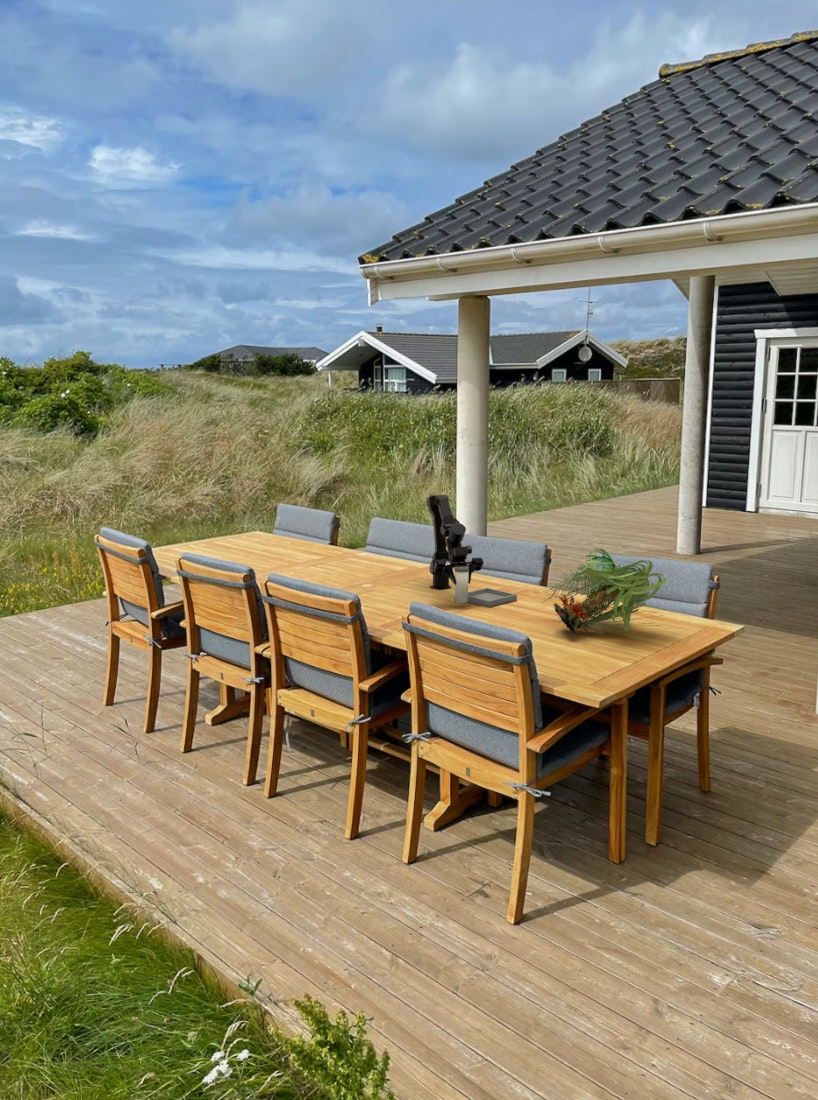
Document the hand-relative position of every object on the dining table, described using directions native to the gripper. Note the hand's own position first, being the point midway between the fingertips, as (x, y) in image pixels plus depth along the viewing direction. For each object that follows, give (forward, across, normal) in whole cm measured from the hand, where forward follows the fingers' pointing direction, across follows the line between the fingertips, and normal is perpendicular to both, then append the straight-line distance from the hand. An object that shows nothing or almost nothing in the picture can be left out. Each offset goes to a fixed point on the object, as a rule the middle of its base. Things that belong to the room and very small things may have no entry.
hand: (462, 583), depth 329 cm
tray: (0, +13, +13) cm, 18 cm away
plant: (+34, +37, -20) cm, 54 cm away
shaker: (+4, 0, +6) cm, 7 cm away
